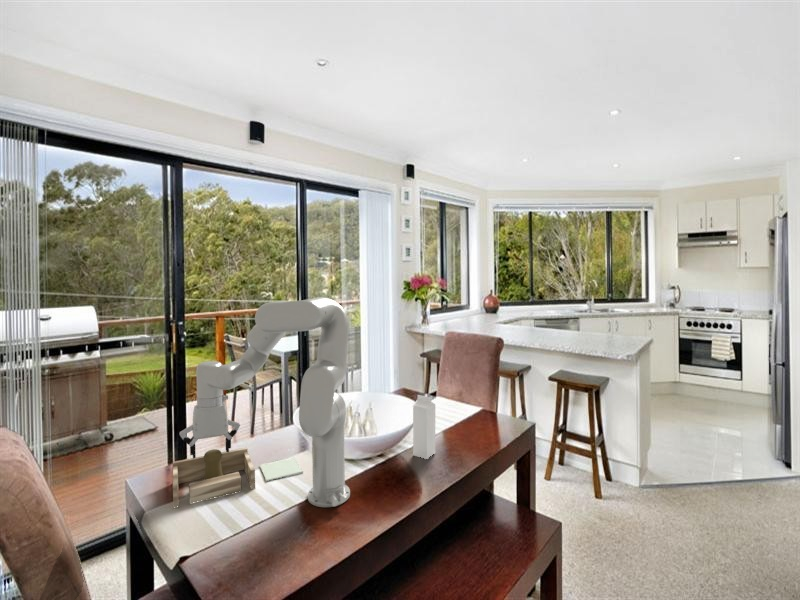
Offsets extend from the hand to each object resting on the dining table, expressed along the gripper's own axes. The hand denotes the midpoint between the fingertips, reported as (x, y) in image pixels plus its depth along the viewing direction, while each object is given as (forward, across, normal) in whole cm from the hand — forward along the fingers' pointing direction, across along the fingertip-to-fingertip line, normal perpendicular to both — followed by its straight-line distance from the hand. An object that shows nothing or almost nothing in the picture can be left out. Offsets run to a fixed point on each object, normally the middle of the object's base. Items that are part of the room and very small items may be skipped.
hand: (210, 453), depth 130 cm
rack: (+10, -1, +2) cm, 10 cm away
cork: (+10, -1, +1) cm, 10 cm away
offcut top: (+8, -1, +7) cm, 11 cm away
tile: (+10, -22, +1) cm, 24 cm away
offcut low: (+11, -1, +7) cm, 13 cm away
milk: (+9, -71, +15) cm, 73 cm away
